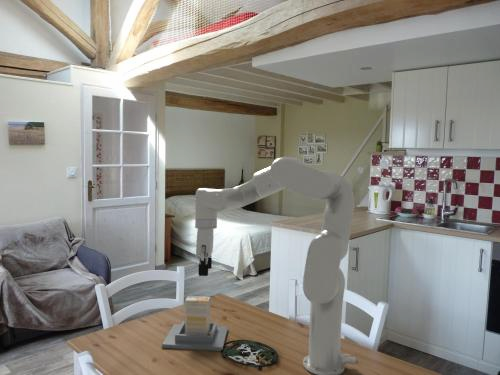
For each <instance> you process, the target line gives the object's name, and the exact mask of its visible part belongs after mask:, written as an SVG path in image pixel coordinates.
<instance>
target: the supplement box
mask: <svg viewBox="0 0 500 375" xmlns="http://www.w3.org/2000/svg"><path fill="white" fill-rule="evenodd" d="M184 321H185V334H188V335H207V336H209V333H210V322H211V296H198V295H197V296H196V295H195V296H194V295H188V296H187V297H186V299H185V300H184Z"/></svg>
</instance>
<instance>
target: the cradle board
mask: <svg viewBox="0 0 500 375" xmlns="http://www.w3.org/2000/svg"><path fill="white" fill-rule="evenodd" d="M228 327H229V326H222V325H221V326H219V325H218V322H217V321H216V322H214V321H210V333H209V336H207V335H188V334H185V320H182V322H181V324H180V323H174V324H173V325H172V327H171V328H170V330H169V332H168V333H167V336H166V337H165V339H164V340H163V342H162V343H161V348H162V349H175V350H176V349H179V350H197V351H214V352H215V351H216V352H222V351H221V350H224V347H223V346H225V342H226V338H227V334H228V329H229V328H228Z"/></svg>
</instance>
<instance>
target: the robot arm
mask: <svg viewBox="0 0 500 375" xmlns="http://www.w3.org/2000/svg"><path fill="white" fill-rule="evenodd" d="M286 189H287V190H289V191H290V192H293V193H296V194H298V195H301V196H303V197H306V198H307V199H310V200H314V201H325V202H326V203H325V208H324V212H323V216H322V224H321V229H320V233H319V234H318V235H316V236H314V238H313V239H312V240H311V241H310V244H309V246H308V248H307V252H306V259H305V266H304V272H303V277H302V278H303V279H302V290H303V291H302V292H303V295H304V296H305V298H306V299H307V300H308V301H309V302H310V308H309V330H308V331H309V332H308V334H309V335H308V354H307V355H306V356H304V357H303V359H302V365H303V367H304V368H305V370H306V371H308V372H310V373H312V374H314V375H341V374H343V373H344V372H345V367H346V364H349V365H356V364H357V358H356V357H354V356H351V354H350V353H344V354H343V353H342V352H341V342H342V341H341V338H342V319H343V305H344V304H343V303H344V301H343V300H344V295H345V288H346V282H345V281H346V280H345V279H346V278H345V274H344V272H343V271H342V269H341V268H340V266H341V261H342V260H343V259H344V258H345V257H346V256H347V254H348V251H349V244H350V236H351V230H352V224H353V217H354V210H355V195H354V191H353V189H352V186H351V185H350V182H348V180H347V179H345V178H344V177H343V175H341V174H339V173H337V172H335V171H331V170H319V169H317V168H314V167H311V166H308V165H305V164H304V163H303V161H302V160H300V159H299V158H297V157H290V156H282V157H278V158H276V159H275V160H274V161H272V163H271V164H270V166H268V167H266V168H263V169H260V170H259V171H257V172H255V173H253V175H252V178H251V179H250V180H249V181H247V182H245V183H242V184H240V185H237V186H234V187H229V188H220V189H216V188H210V187H209V188H208V187H202V188H201V187H200V188H198V189H196V191H195V211H194V212H195V213H194V214H195V217H194V218H195V221H194V227H195V228H194V229H196V230H197V233H196V247H195V257H196V258H198V259H199V260H198V276H199V277H208V275H209V270H211V269H212V265H213V264H212V262H213V260H212V259H213V258H212V254H213V250H214V230H216V229H217V228H218V227H217V226H218V212H226V211H232V210H237V209H241V208H243V207H245V206H247V205H250V204H253V203H255V202H258V201H260V200H261V199H264V198H267V197H269V196H271V195H274V194H275V193H278V192H280V191H283V190H286Z"/></svg>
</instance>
